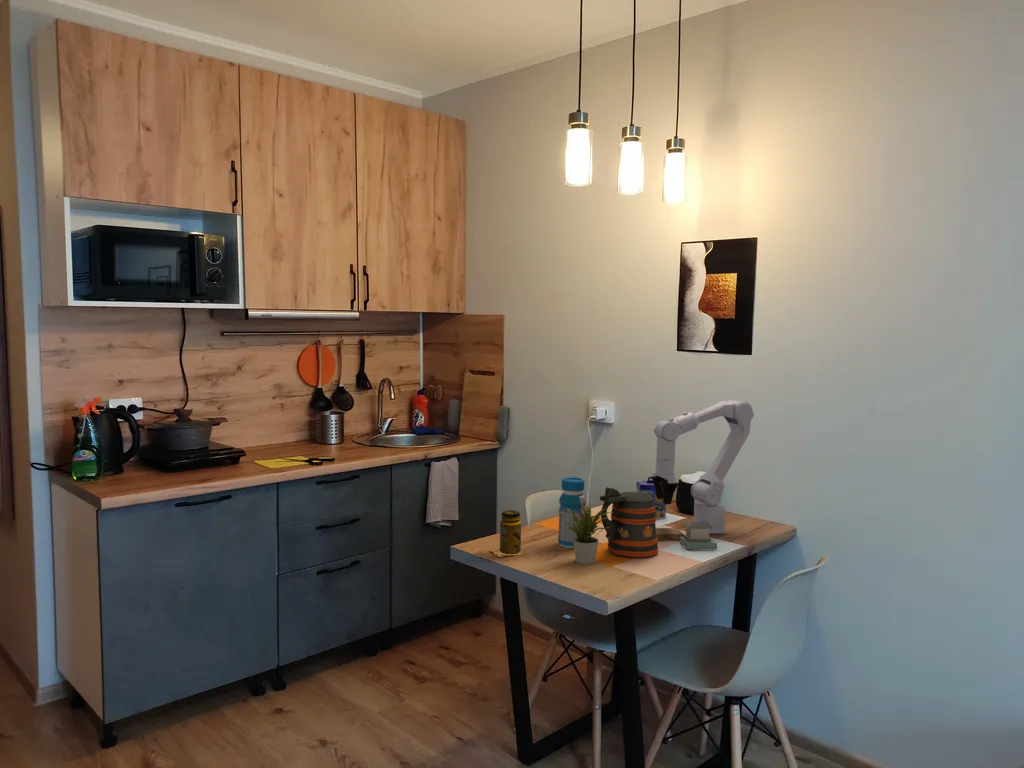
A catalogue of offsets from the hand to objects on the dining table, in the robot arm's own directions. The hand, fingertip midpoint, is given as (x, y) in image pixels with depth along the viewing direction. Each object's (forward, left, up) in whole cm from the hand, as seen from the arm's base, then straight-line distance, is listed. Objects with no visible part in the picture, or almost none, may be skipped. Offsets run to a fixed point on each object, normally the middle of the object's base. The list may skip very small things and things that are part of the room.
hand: (663, 501), depth 237 cm
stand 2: (-7, +14, -10) cm, 19 cm away
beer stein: (+16, +19, -11) cm, 28 cm away
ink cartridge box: (-2, -21, -11) cm, 23 cm away
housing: (-6, +14, -8) cm, 18 cm away
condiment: (+51, +18, -11) cm, 55 cm away
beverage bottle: (+31, +11, -11) cm, 35 cm away
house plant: (+29, +28, -11) cm, 42 cm away
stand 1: (0, +4, -10) cm, 11 cm away
